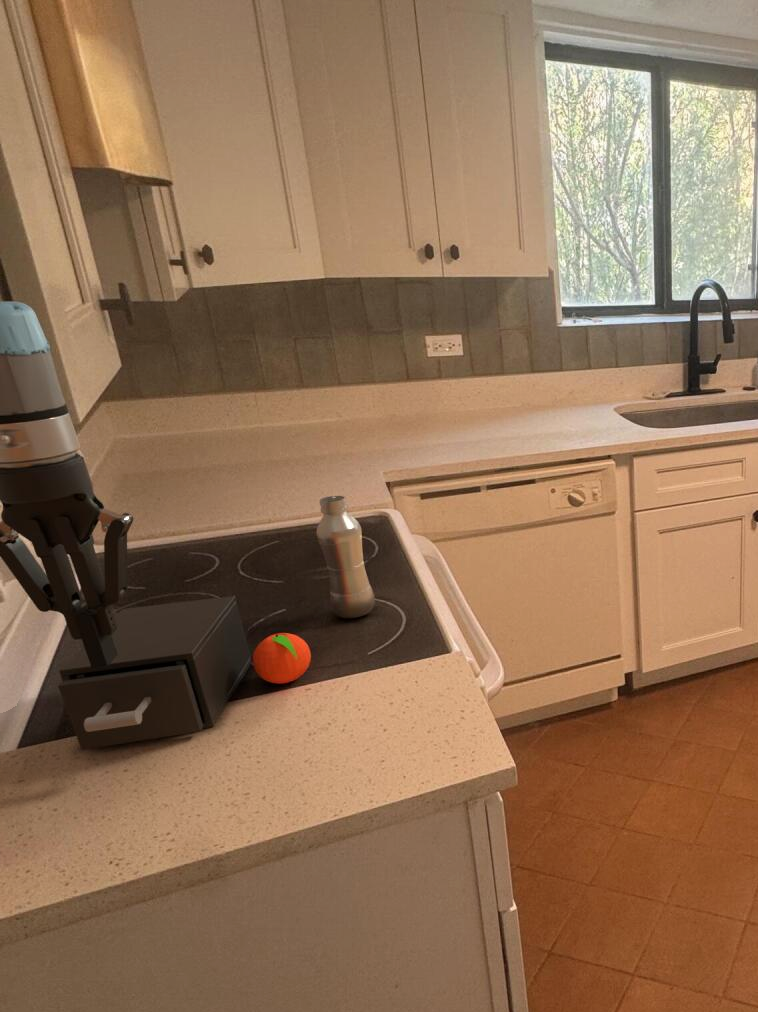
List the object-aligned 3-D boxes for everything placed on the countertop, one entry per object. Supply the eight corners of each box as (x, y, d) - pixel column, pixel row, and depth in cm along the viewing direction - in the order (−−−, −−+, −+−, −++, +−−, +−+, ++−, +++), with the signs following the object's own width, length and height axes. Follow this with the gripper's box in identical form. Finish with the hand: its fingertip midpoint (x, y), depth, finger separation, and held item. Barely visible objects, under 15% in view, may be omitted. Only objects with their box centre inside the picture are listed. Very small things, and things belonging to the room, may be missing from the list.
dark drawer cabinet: (213, 727, 99) (192, 652, 95) (86, 746, 95) (58, 670, 91) (252, 661, 115) (235, 595, 111) (144, 676, 111) (122, 608, 107)
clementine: (329, 678, 110) (319, 632, 107) (279, 700, 104) (267, 653, 102) (299, 663, 114) (288, 619, 111) (249, 684, 108) (237, 638, 106)
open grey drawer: (186, 755, 92) (165, 690, 89) (60, 775, 88) (34, 708, 85) (239, 667, 111) (224, 611, 108) (137, 681, 108) (119, 624, 105)
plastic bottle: (361, 602, 133) (338, 490, 126) (386, 611, 130) (364, 496, 123) (325, 617, 128) (299, 501, 121) (350, 626, 125) (325, 508, 118)
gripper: (-67, 474, 75) (17, 687, 83) (93, 461, 79) (159, 667, 87) (-21, 455, 82) (53, 655, 90) (125, 445, 85) (183, 637, 93)
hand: (104, 661), depth 88 cm, fingers closed
